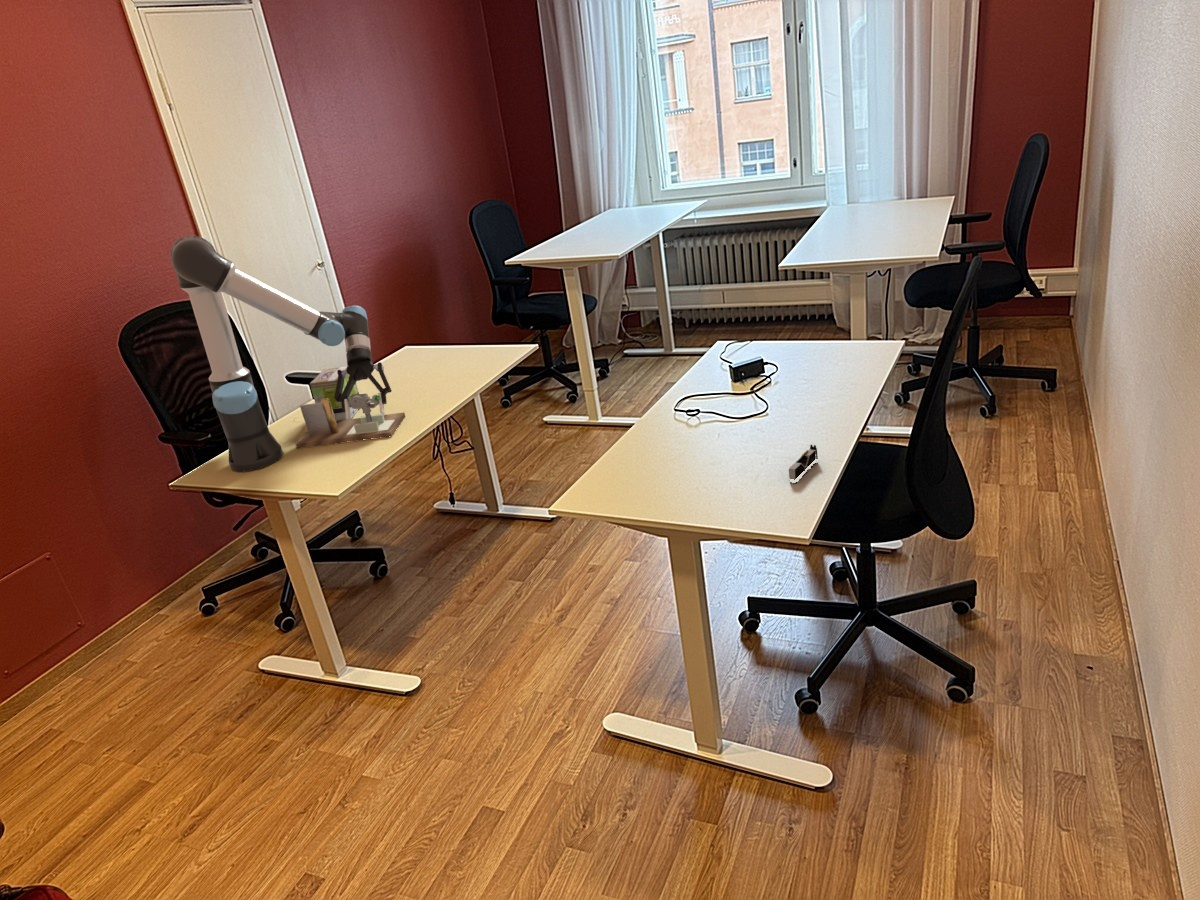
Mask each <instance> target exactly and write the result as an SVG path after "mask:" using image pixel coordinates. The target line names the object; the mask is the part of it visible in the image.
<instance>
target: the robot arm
mask: <svg viewBox="0 0 1200 900" xmlns="http://www.w3.org/2000/svg"><path fill="white" fill-rule="evenodd" d="M170 260H171V265H172V267H173V269H174V271H175V274H176V278H177V281H178V285H179V287H180V289H181V290H183V291H184V292H185V293H187V294H188V297H189V299H190V303H191V306H192V307H191V308H192V310H193V313H194V317H195V320H196V323H197V326H198V330H199V333H200V337H201V339H202V342H203V343H202V344H203V346H204V349H205V352H206V356H207V360H208V363H209V366H210V370H211V374H210V375H209V377H208V382H209V386H210V389H211V392H212V396H211V398H212V404H213V407H214V409H215V410H216V413H217V416H218V418H219V421H220V424H221V426H222V429H223V432H224V434H225V437H226V439H227V440H226V441H227V442H228V465H229V466H230V469H231V470H232V471H233V472H238V473H240V472H241V473H242V472H243V473H244V472H245V473H246V472H250V471H256V470H259V469H262V468H265V467H268V466H271V465H272V464H275V463H276V462H277V461H279V460H280V459H281V458H282V457H283V455H284V450H283V447H282V446H281V444H280V443H279V442H278V440H277V439H276V438H275V437H274V436H273V434H272V433H271V431H270V429H269V427H268V424H267V421H266V418H265V414H264V412H263V408H262V407H261V403H260V400H259V397H258V393H257V390H256V387H255V386H254V382H253V378H252V375H251V372H250V369H248V368H247V367H246V366H243V363H242V360H241V356H240V353H239V349H238V345H237V343H236V339H235V335H234V332H233V328H232V324H231V321H230V317H229V314H228V310H227V308H226V304H225V300H224V297H223V293H224V294H226V295H228V296H231V298H234V299H236V300H238V301H241V302H243V303H244V304H246V305H248V306H251V307H252V308H254V309H256V310H258V311H261V312H262V313H265V314H267V315H268V316H271V317H273V318H275V319H276V320H279V321H280V322H282V323H285V324H287V325H289V326H291V327H293V328H295V329H296V330H299V331H301V332H303V333H304V335H306V336H310V337H312V338H315V339H316V340H318V341H320V342H321V343H322V344H324V345H326V346H328V347H336V346H338V345H340V344H342V343H343V341H344V343H345V352H346V353H345V354H346V364H347V369H346V370H342V371H341V370H338V371H337V373H338V380H337V385H336V391H335V396H334V398H335V399H336V401H337V402H341V405H342V410H343V411H344V412H346V419H347V420H348V422H351V414H350V404H349V402H348V400H347V397H348V396H349V395H350V393H351V391H352V389H353V386H354V384H356V385H357V381H359V382H360V381H362V380H368V379H369V381H370V382H371V383H372V384H373V385H374V386H375V388H376V389H377V390H378V393H377V395H379V397H380V400H379V404H378V407H379V414H382V416H384V415H386V414H385V412H386V411H385V405H387V404H388V402H387V394H389V393H391V392H392V388H391V385H390V383H389V380H388V378H387V376H386V374H385V372H384V365H383V364H382V362H381V361H380V362H378V363H376V364H375V363H373V356H372V351H371V350H372V348H371V339H370V333H369V332H370V330H369V320H368V315H367V311H366V310H365V308H363V307H362V306H360V305H355V304H354V305H351V306H346V307H344V308H343V309H342V311H341V312H333V311H331V312H330V311H319V310H317V309H315V308H313V307H311V306H309V305H307V304H306V303H304V302H301V301H300V300H298V299H296V298H294V297H292V296H290V295H288V294H286V293H285V292H283V291H280V290H279V289H277V288H275V287H273V286H271V285H269V284H267V283H265V282H263V281H261V280H260V279H258V278H256V277H255V276H252V275H250V274H248V273H246V272H244V271H242V270H240V269H239V268H237V267H236V266H235V263H234V262H233V261H231V260H229V259H227V258H226V257H224V256H222V255H221V254H220V253H219V252H217V250H216V248H215V247H214V246H213V244H212V243H211V242H210V241H208V240H207V239H206V238H203V237H200V236H197V235H191V236H189V235H188V236H184V237H182V238H179V239H178V240H177V241H175V242H174V243H173V245H172V247H171V249H170ZM374 370H376V372H378V374H379V376H380V378H381V381H382V382H383V386H384V388H383V387H382V386H381V384H380V383H379V382H378V380H377V379H376V378H375V377H374V376H373V375H372V373H374ZM346 374H349V375H350V376H349V380H348V382H347V384H346V387H345V389H344V391H343V385H344V378H345V377H346ZM342 391H343V393H342Z"/></svg>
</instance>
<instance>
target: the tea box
mask: <svg viewBox="0 0 1200 900" xmlns="http://www.w3.org/2000/svg"><path fill="white" fill-rule="evenodd" d="M346 369H347V366H340V367H332V368H326V369H323V370H321V371H320V372H319V374H317V376H316V377H314V379H313V380H311V382H310V383H309V387H310V390H311V393H312V396H313V400H314V403H321V400H322V399H324V398H329V400H330V403H331V406H332V409H333V413H334V416H335V419H336V421H340V420H347V419H346V412H344V411H343V410H342V405H341V402H337V401H336V399H335V398H334V396H335V391H336V385H337V380H338V373H337V371H338V370H341V371H342V370H346ZM349 376H350V375H349V374H346V377H345V378H344V385H343V391H344V389H345V387H346V384H347V382H348V380H349ZM358 388H359V387H358V385H357V383H356V384H354V386H353V389H352V391H351V393H350V395H349V396H351V395H352V394H360V391H359V389H358ZM343 391H342V393H343ZM349 404H350V403H349ZM358 411H359V410H358V409H353V408H352V407H351V406H350V414H351V419H353V417H354V416H355V414H356V413H357V412H358Z"/></svg>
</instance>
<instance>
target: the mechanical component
mask: <svg viewBox="0 0 1200 900" xmlns="http://www.w3.org/2000/svg"><path fill="white" fill-rule="evenodd" d="M347 400H348V402H349V403H350V406H351V407H352V408H353V409H359V410H360V409H361V410H362V413H363V414H364V416H366V419H367V423H368V422H373V421H372V418H371V415H372V414H371V412H372V409H374V408H376V407H377V406H379V400H380V397H379V395H378V394H373V395H372V397H371V396H369V395H368V393H359V394H352V395H351V396H348V397H347Z"/></svg>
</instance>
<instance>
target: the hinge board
mask: <svg viewBox="0 0 1200 900" xmlns="http://www.w3.org/2000/svg"><path fill="white" fill-rule="evenodd" d="M299 408H300V411H301V414H302V417H303V419H304V420H303V421H304V423H305V426H306V429H307V431H306V432H305V433H304V434H303V436H301V438H299V440H297V442H296V443H295V446H296V449H304V448H305V449H306V448H311V447H312V448H313V447H319V446H328V444H330V445H336V444H335V443H338V444H342V443H341V442H346V443H348V442H347V441H354V442H357V441H356V440H362V441H364V440H363V439H370V440H372V439H371V438H378V439H381V438H380V437H386V438H390V437H389V436H392V435H393V436H394V434H395V433H396V432H395V431H397V430H398V429H399V427H400V426H401V424H402V423H403V422H404V420H405V418H406V414H405V412H404V411H403V412H397V413H395V412H394V413H390V414H389V413H388V414H385V415H384V416H382V414H381V413H378V414H377V413H376V414H371V418H372V421H373V422H368V423H367V419H366V416H365V415H363V416H361V417H358V418H352V419H351V422H348V420H340V421H336V419H335V416H334V413H333V409H332V406H331V403H330V400H329V398H324V399H322V400H321V403H315V402H314V403H313V402H312V403H307V404H300V405H299ZM403 419H404V420H403ZM401 422H402V423H401ZM399 425H400V426H399ZM397 428H398V429H397ZM396 429H397V430H396ZM394 432H395V433H394ZM393 436H392V437H393Z"/></svg>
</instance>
